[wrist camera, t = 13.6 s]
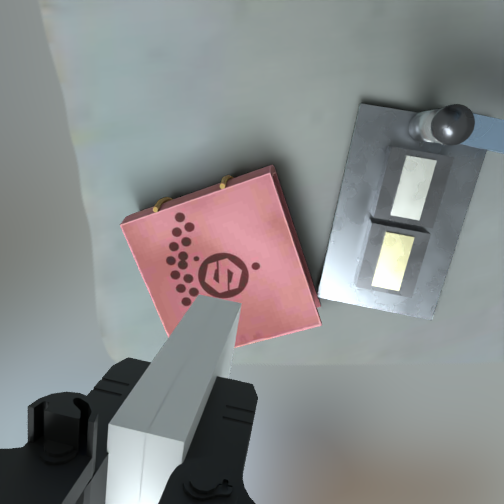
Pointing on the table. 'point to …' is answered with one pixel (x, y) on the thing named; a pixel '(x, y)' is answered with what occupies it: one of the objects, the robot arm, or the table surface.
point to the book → (227, 256)
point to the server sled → (397, 213)
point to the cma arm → (467, 129)
